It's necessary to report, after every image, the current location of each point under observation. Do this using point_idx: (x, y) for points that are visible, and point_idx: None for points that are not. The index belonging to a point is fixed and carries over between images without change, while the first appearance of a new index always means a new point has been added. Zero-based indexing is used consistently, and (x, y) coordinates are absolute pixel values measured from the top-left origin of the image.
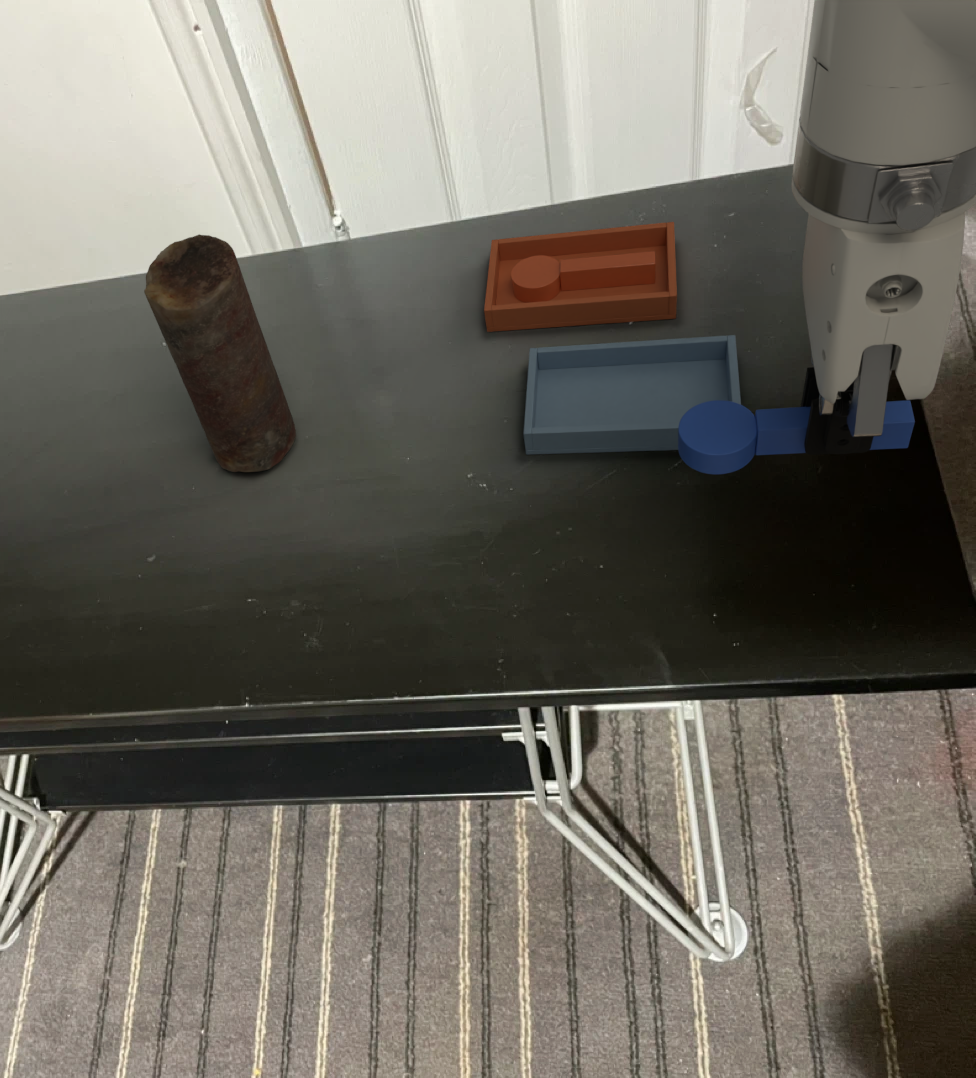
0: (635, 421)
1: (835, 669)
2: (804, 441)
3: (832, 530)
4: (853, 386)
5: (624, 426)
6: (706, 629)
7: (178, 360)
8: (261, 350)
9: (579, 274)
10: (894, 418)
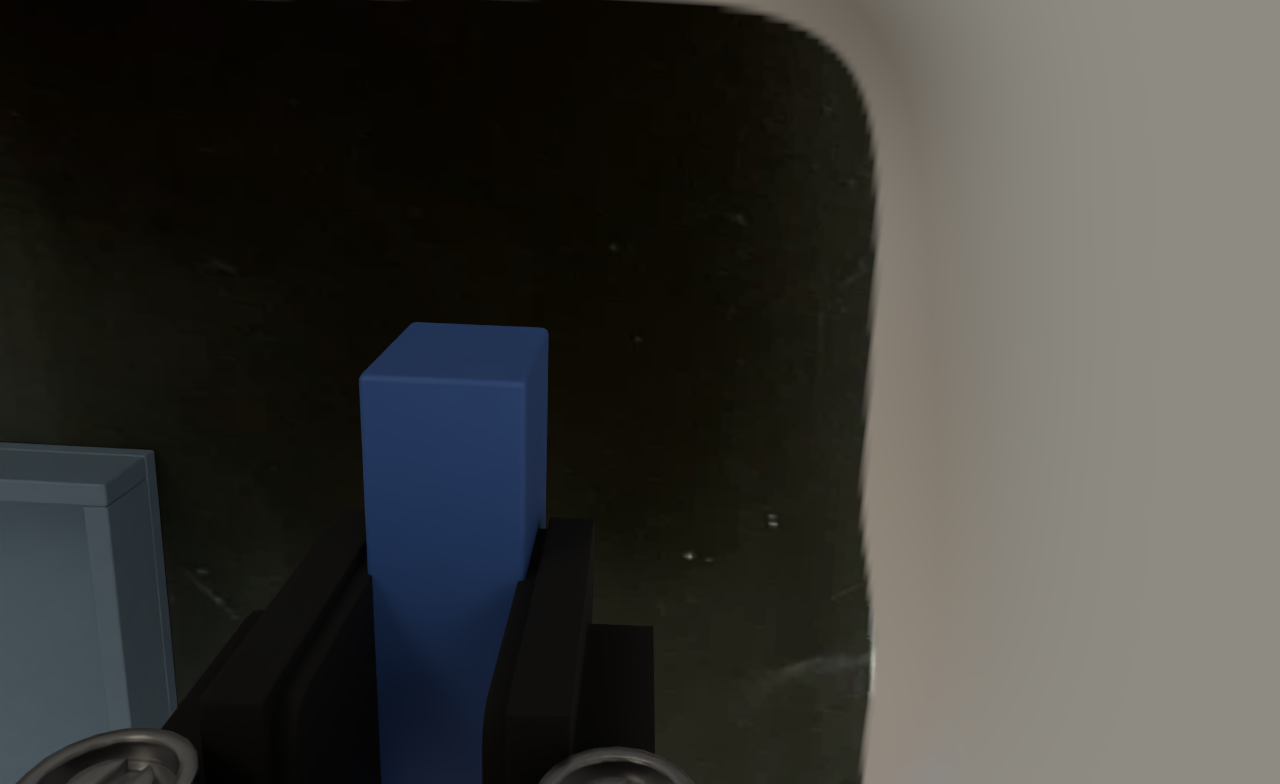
0: (75, 691)
1: (855, 322)
2: None
3: (435, 266)
4: (331, 727)
5: None
6: (728, 575)
7: None
8: None
9: None
10: (491, 469)
